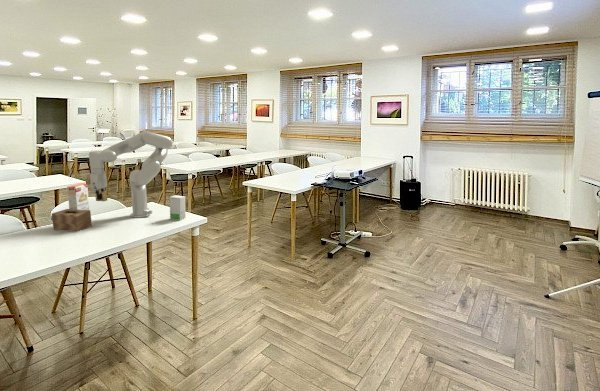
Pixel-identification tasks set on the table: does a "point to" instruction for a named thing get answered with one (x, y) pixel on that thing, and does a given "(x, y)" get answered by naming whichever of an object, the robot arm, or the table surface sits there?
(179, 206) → the skincare box
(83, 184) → the cracker box
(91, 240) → the table surface
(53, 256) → the table surface
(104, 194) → the token
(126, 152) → the robot arm
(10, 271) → the table surface
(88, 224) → the coin box
